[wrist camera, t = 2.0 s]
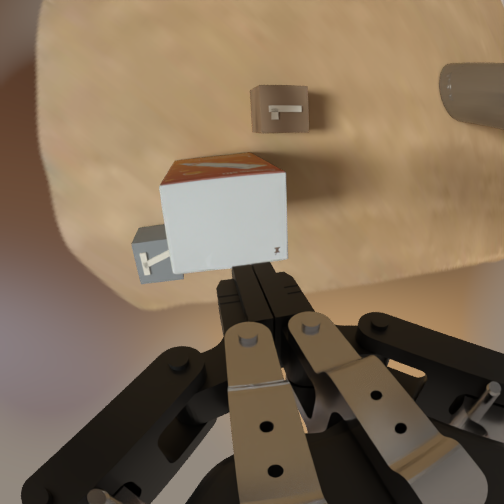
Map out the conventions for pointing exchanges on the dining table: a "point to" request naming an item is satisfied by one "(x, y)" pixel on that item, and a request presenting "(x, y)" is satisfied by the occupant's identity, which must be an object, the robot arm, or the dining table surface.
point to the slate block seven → (153, 255)
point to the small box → (224, 212)
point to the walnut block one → (279, 109)
